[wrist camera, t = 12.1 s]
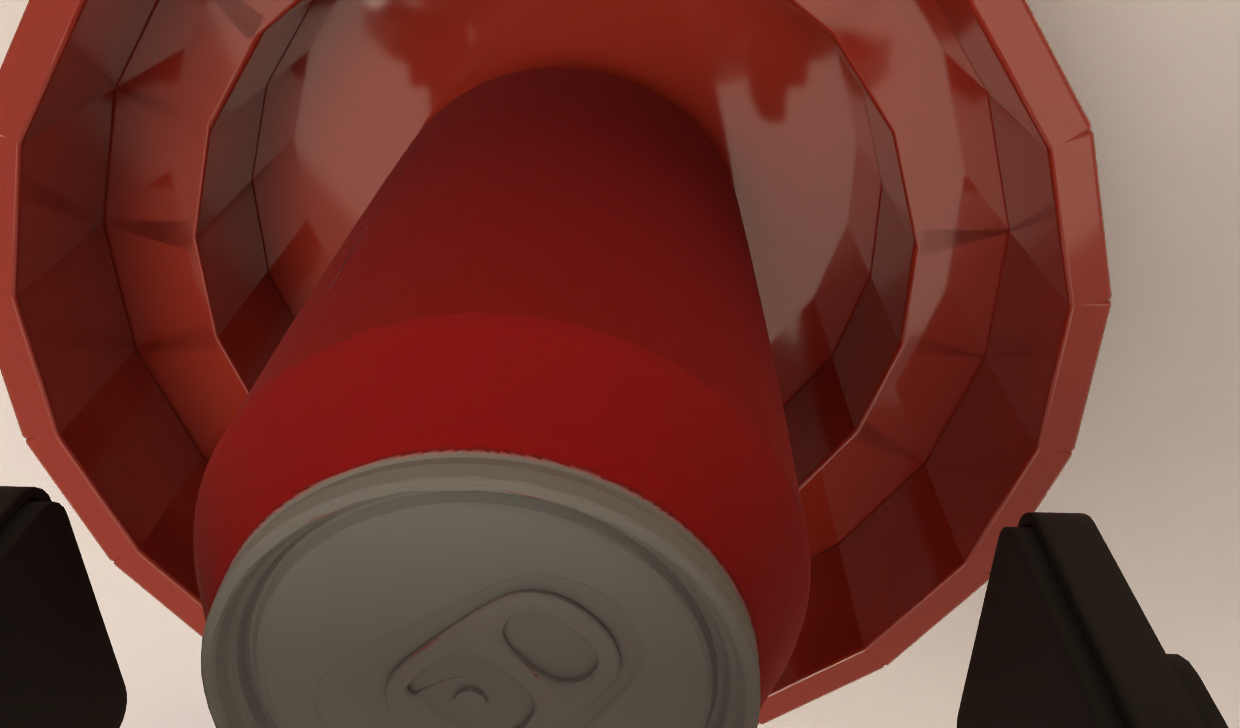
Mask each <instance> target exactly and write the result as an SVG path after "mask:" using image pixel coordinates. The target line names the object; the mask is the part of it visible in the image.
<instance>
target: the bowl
mask: <svg viewBox="0 0 1240 728" xmlns="http://www.w3.org/2000/svg"><path fill="white" fill-rule="evenodd" d="M539 68H577V69H586V70H591V71H597V72H602V73H605V74H609V75H613V76H616V77H619V78H622V79H625V80H627V81H630V82H633V83H635V84H637V85H639V86H641V87H643V88H645V89H647V90H649V91H651V92H653V93H654V94H656V95H658V96H660V97H661V98H663V99H664V100H666V101H667V102H668V103H670V104H671V105H673V106H674V107H675V108H677V109H678V110H679V111H680V112H681V113H683V114H684V115H685V116H686V117H687V118H688V119H689V120H690V121H691V122H692V123H693V124H694V125H695V126H696V127H697V128H698V129H699V130H700V131H701V132H702V133H703V135H704V136H705V137H706V138H707V140H708V141H709V142H710V143H711V145H712V146H713V148H714V149H715V151H716V152H717V154H718V155H719V157H720V159H721V161H722V163H723V164H724V166H725V168H726V170H727V172H728V175H729V177H730V179H731V182H732V184H733V187H734V190H735V193H736V196H737V200H738V204H739V208H740V212H741V216H742V220H743V225H744V229H745V233H746V237H747V241H748V245H749V250H750V254H751V259H752V263H753V268H754V272H755V277H756V281H757V286H758V290H759V294H760V299H761V303H762V308H763V312H764V317H765V321H766V326H767V331H768V336H769V340H770V345H771V350H772V355H773V360H774V365H775V370H776V375H777V380H778V384H779V389H780V394H781V399H782V404H783V409H784V414H785V419H786V424H787V429H788V434H789V439H790V445H791V450H792V455H793V461H794V466H795V471H796V476H797V482H798V487H799V492H800V498H801V503H802V508H803V514H804V519H805V524H806V530H807V535H808V541H809V550H810V559H811V583H810V591H809V600H808V605H807V610H806V614H805V618H804V622H803V625H802V628H801V631H800V634H799V637H798V640H797V643H796V646H795V649H794V651H793V653H792V655H791V657H790V659H789V662H788V664H787V666H786V668H785V670H784V671H783V673H782V674H781V676H780V678H779V679H778V681H777V683H776V684H775V686H774V688H773V689H772V691H771V693H770V694H769V696H768V698H767V699H766V701H765V703H764V704H763V706H762V708H761V709H760V714H759V720H758V725H759V723H760V724H764V723H766V722H769V721H771V720H773V719H775V718H777V717H779V716H781V715H783V714H786V713H788V712H790V711H792V710H794V709H796V708H798V707H801V706H803V705H805V704H807V703H809V702H811V701H813V700H815V699H818V698H820V697H822V696H824V695H826V694H828V693H830V692H832V691H835V690H837V689H839V688H841V687H843V686H845V685H847V684H849V683H852V682H854V681H856V680H858V679H860V678H862V677H864V676H867V675H869V674H871V673H873V672H875V671H877V670H879V669H881V668H883V667H884V665H888V664H890V663H891V662H892V661H893V660H894V659H895V658H897V657H898V656H899V655H900V654H901V653H903V652H904V651H905V650H906V649H907V648H909V647H910V646H911V645H912V644H913V643H914V642H916V641H917V640H918V639H919V638H920V637H922V636H923V635H924V634H925V633H926V632H928V631H929V630H930V629H931V628H932V627H933V626H935V625H936V624H937V623H938V622H939V621H941V620H942V619H943V618H944V617H945V616H947V615H948V614H949V613H950V612H951V611H952V610H954V609H955V608H956V607H957V606H958V605H960V604H961V603H962V602H963V601H964V600H966V599H967V598H968V597H969V596H970V595H971V594H973V593H974V592H975V591H976V590H977V589H979V588H980V587H981V586H982V585H983V584H985V583H986V582H987V581H988V580H989V577H990V572H991V568H992V564H993V559H994V555H995V551H996V546H997V542H998V538H999V535H1000V532H1001V530H1002V529H1003V528H1004V527H1017V526H1018V523H1019V520H1020V518H1021V517H1022V516H1023V514H1024V513H1027V512H1035V511H1036V509H1037V508H1038V506H1039V505H1040V503H1041V502H1042V500H1043V499H1044V497H1045V496H1046V494H1047V492H1048V491H1049V489H1050V488H1051V486H1052V485H1053V483H1054V482H1055V480H1056V479H1057V477H1058V476H1059V474H1060V472H1061V471H1062V469H1063V468H1064V466H1065V465H1066V463H1067V462H1068V460H1069V459H1070V457H1071V455H1072V451H1073V450H1074V449H1075V445H1076V441H1077V437H1078V433H1079V429H1080V425H1081V421H1082V417H1083V413H1084V409H1085V405H1086V401H1087V397H1088V393H1089V389H1090V385H1091V381H1092V377H1093V373H1094V369H1095V366H1096V362H1097V358H1098V354H1099V350H1100V346H1101V342H1102V338H1103V334H1104V330H1105V326H1106V322H1107V318H1108V314H1109V310H1110V306H1111V302H1110V299H1111V285H1110V276H1109V267H1108V258H1107V249H1106V240H1105V231H1104V222H1103V213H1102V205H1101V196H1100V187H1099V178H1098V169H1097V160H1096V151H1095V142H1094V133H1093V132H1092V130H1091V123H1090V121H1089V119H1088V118H1087V116H1086V114H1085V112H1084V110H1083V108H1082V106H1081V104H1080V102H1079V100H1078V98H1077V97H1076V95H1075V93H1074V91H1073V89H1072V87H1071V85H1070V83H1069V81H1068V79H1067V77H1066V75H1065V74H1064V72H1063V70H1062V68H1061V66H1060V64H1059V62H1058V60H1057V58H1056V56H1055V54H1054V53H1053V51H1052V49H1051V47H1050V45H1049V43H1048V41H1047V39H1046V37H1045V35H1044V33H1043V31H1042V30H1041V28H1040V26H1039V24H1038V22H1037V20H1036V18H1035V16H1034V14H1033V12H1032V10H1031V9H1030V7H1029V5H1028V3H1027V1H1026V0H29V2H28V4H27V7H26V9H25V11H24V14H23V16H22V19H21V21H20V23H19V26H18V28H17V30H16V33H15V35H14V37H13V40H12V42H11V45H10V47H9V49H8V52H7V54H6V56H5V59H4V61H3V63H2V66H1V68H0V370H1V373H2V376H3V379H4V382H5V385H6V388H7V391H8V394H9V397H10V400H11V403H12V406H13V409H14V412H15V415H16V417H17V420H18V423H19V426H20V429H21V432H22V435H23V437H24V438H26V443H27V445H28V446H29V447H30V449H31V450H32V452H33V453H34V454H35V456H36V457H37V459H38V460H39V461H40V463H41V464H42V466H43V467H44V468H45V470H46V471H47V473H48V474H49V475H50V477H51V478H52V480H53V481H54V482H55V484H56V485H57V487H58V488H59V489H60V491H61V492H62V494H63V495H64V496H65V498H66V499H67V501H68V502H69V503H70V505H71V506H72V508H73V509H74V510H75V512H76V513H77V515H78V516H79V517H80V519H81V520H82V522H83V523H84V524H85V526H86V527H87V529H88V530H89V531H90V533H91V534H92V536H93V537H94V538H95V540H96V541H97V543H98V544H99V545H100V547H101V548H102V549H103V551H104V552H105V554H106V555H107V556H108V558H109V559H110V560H111V561H114V564H115V566H117V567H118V568H119V569H120V570H122V571H123V572H124V573H125V574H126V575H128V576H129V577H130V578H131V579H132V580H134V581H135V582H136V583H137V584H139V585H140V586H141V587H142V588H143V589H145V590H146V591H147V592H148V593H149V594H151V595H152V596H153V597H154V598H156V599H157V600H158V601H159V602H160V603H162V604H163V605H164V606H165V607H166V608H168V609H169V610H170V611H171V612H172V613H174V614H175V615H176V616H177V617H179V618H180V619H181V620H182V621H183V622H185V623H186V624H187V625H188V626H189V627H191V628H192V629H193V630H194V631H196V632H197V633H198V634H199V635H200V636H202V637H203V634H204V629H205V625H206V622H205V617H204V612H203V607H202V603H201V598H200V593H199V588H198V584H197V578H196V571H195V564H194V546H193V532H194V519H195V508H196V503H197V498H198V493H199V488H200V485H201V482H202V479H203V476H204V473H205V470H206V467H207V464H208V462H209V460H210V458H211V456H212V454H213V451H214V449H215V447H216V445H217V444H218V442H219V440H220V439H221V437H222V436H223V434H224V432H225V431H226V429H227V427H228V426H229V424H230V423H231V421H232V419H233V418H234V416H235V414H236V413H237V411H238V410H239V408H240V406H241V405H242V403H243V402H244V400H245V398H246V397H247V395H248V393H249V392H250V390H251V389H252V387H253V385H254V384H255V382H256V380H257V379H258V377H259V376H260V374H261V372H262V371H263V369H264V368H265V366H266V364H267V363H268V361H269V359H270V358H271V356H272V355H273V353H274V351H275V350H276V348H277V347H278V345H279V343H280V342H281V340H282V338H283V337H284V335H285V334H286V332H287V330H288V329H289V327H290V325H291V324H292V322H293V321H294V319H295V318H296V316H297V315H298V313H299V311H300V310H301V308H302V307H303V305H304V304H305V302H306V300H307V299H308V297H309V296H310V294H311V293H312V291H313V289H314V288H315V286H316V285H317V283H318V282H319V280H320V279H321V277H322V275H323V274H324V272H325V271H326V269H327V268H328V266H329V264H330V263H331V261H332V260H333V258H334V257H335V255H336V254H337V252H338V250H339V249H340V247H341V246H342V244H343V243H344V241H345V240H346V238H347V237H348V235H349V234H350V232H351V231H352V229H353V228H354V226H355V225H356V223H357V222H358V220H359V219H360V217H361V216H362V214H363V213H364V211H365V210H366V208H367V207H368V205H369V204H370V202H371V201H372V199H373V198H374V196H375V195H376V193H377V192H378V190H379V188H380V187H381V186H382V184H383V183H384V181H385V180H386V178H387V177H388V175H389V174H390V173H391V171H392V170H393V168H394V167H395V165H396V164H397V163H398V161H399V160H400V158H401V157H402V155H403V154H404V153H405V151H406V150H407V148H408V147H409V145H410V144H411V142H412V141H413V140H414V138H415V137H416V136H417V134H418V133H419V132H420V130H421V129H422V128H423V127H424V126H425V125H426V124H427V123H428V121H429V120H430V119H431V118H432V117H433V116H434V115H435V114H436V113H438V112H439V111H440V110H441V109H442V108H443V107H444V106H446V105H447V104H448V103H450V102H451V101H453V100H454V99H455V98H457V97H458V96H460V95H461V94H463V93H465V92H466V91H468V90H470V89H472V88H474V87H476V86H478V85H480V84H482V83H484V82H486V81H489V80H492V79H495V78H497V77H500V76H503V75H507V74H511V73H514V72H519V71H524V70H530V69H539Z"/></svg>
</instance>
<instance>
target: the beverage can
mask: <svg viewBox="0 0 1240 728" xmlns="http://www.w3.org/2000/svg"><path fill="white" fill-rule="evenodd" d="M193 546H194V564H195V571H196V578H197V584H198V588H199V593H200V598H201V603H202V607H203V612H204V617H205V622H206V625H205V629H204V634H203V638H202V650H201V675H202V680H203V686H204V692H205V696H206V700H207V704H208V707H209V710H210V713H211V716H212V718H213V721H214V723H215V726H216V728H757V725H758V720H759V714H760V709H761V708H762V706H763V704H764V703H765V701H766V699H767V698H768V696H769V694H770V693H771V691H772V689H773V688H774V686H775V684H776V683H777V681H778V679H779V678H780V676H781V674H782V673H783V671H784V670H785V668H786V666H787V664H788V662H789V659H790V657H791V655H792V653H793V651H794V649H795V646H796V643H797V640H798V637H799V634H800V631H801V628H802V625H803V622H804V618H805V614H806V610H807V605H808V600H809V591H810V583H811V559H810V550H809V541H808V535H807V530H806V524H805V519H804V514H803V508H802V503H801V498H800V492H799V487H798V482H797V476H796V471H795V466H794V461H793V455H792V450H791V445H790V439H789V434H788V429H787V424H786V419H785V414H784V409H783V404H782V399H781V394H780V389H779V384H778V380H777V375H776V370H775V365H774V360H773V355H772V350H771V345H770V340H769V336H768V331H767V326H766V321H765V317H764V312H763V308H762V303H761V299H760V294H759V290H758V286H757V281H756V277H755V272H754V268H753V263H752V259H751V254H750V250H749V245H748V241H747V237H746V233H745V229H744V225H743V220H742V216H741V212H740V208H739V204H738V200H737V196H736V193H735V190H734V187H733V184H732V182H731V179H730V177H729V175H728V172H727V170H726V168H725V166H724V164H723V163H722V161H721V159H720V157H719V155H718V154H717V152H716V151H715V149H714V148H713V146H712V145H711V143H710V142H709V141H708V140H707V138H706V137H705V136H704V135H703V133H702V132H701V131H700V130H699V129H698V128H697V127H696V126H695V125H694V124H693V123H692V122H691V121H690V120H689V119H688V118H687V117H686V116H685V115H684V114H683V113H681V112H680V111H679V110H678V109H677V108H675V107H674V106H673V105H671V104H670V103H668V102H667V101H666V100H664V99H663V98H661V97H660V96H658V95H656V94H654V93H653V92H651V91H649V90H647V89H645V88H643V87H641V86H639V85H637V84H635V83H633V82H630V81H627V80H625V79H622V78H619V77H616V76H613V75H609V74H605V73H602V72H597V71H591V70H586V69H577V68H539V69H530V70H524V71H519V72H514V73H511V74H507V75H503V76H500V77H497V78H495V79H492V80H489V81H486V82H484V83H482V84H480V85H478V86H476V87H474V88H472V89H470V90H468V91H466V92H465V93H463V94H461V95H460V96H458V97H457V98H455V99H454V100H453V101H451V102H450V103H448V104H447V105H446V106H444V107H443V108H442V109H441V110H440V111H439V112H438V113H436V114H435V115H434V116H433V117H432V118H431V119H430V120H429V121H428V123H427V124H426V125H425V126H424V127H423V128H422V129H421V130H420V132H419V133H418V134H417V136H416V137H415V138H414V140H413V141H412V142H411V144H410V145H409V147H408V148H407V150H406V151H405V153H404V154H403V155H402V157H401V158H400V160H399V161H398V163H397V164H396V165H395V167H394V168H393V170H392V171H391V173H390V174H389V175H388V177H387V178H386V180H385V181H384V183H383V184H382V186H381V187H380V188H379V190H378V192H377V193H376V195H375V196H374V198H373V199H372V201H371V202H370V204H369V205H368V207H367V208H366V210H365V211H364V213H363V214H362V216H361V217H360V219H359V220H358V222H357V223H356V225H355V226H354V228H353V229H352V231H351V232H350V234H349V235H348V237H347V238H346V240H345V241H344V243H343V244H342V246H341V247H340V249H339V250H338V252H337V254H336V255H335V257H334V258H333V260H332V261H331V263H330V264H329V266H328V268H327V269H326V271H325V272H324V274H323V275H322V277H321V279H320V280H319V282H318V283H317V285H316V286H315V288H314V289H313V291H312V293H311V294H310V296H309V297H308V299H307V300H306V302H305V304H304V305H303V307H302V308H301V310H300V311H299V313H298V315H297V316H296V318H295V319H294V321H293V322H292V324H291V325H290V327H289V329H288V330H287V332H286V334H285V335H284V337H283V338H282V340H281V342H280V343H279V345H278V347H277V348H276V350H275V351H274V353H273V355H272V356H271V358H270V359H269V361H268V363H267V364H266V366H265V368H264V369H263V371H262V372H261V374H260V376H259V377H258V379H257V380H256V382H255V384H254V385H253V387H252V389H251V390H250V392H249V393H248V395H247V397H246V398H245V400H244V402H243V403H242V405H241V406H240V408H239V410H238V411H237V413H236V414H235V416H234V418H233V419H232V421H231V423H230V424H229V426H228V427H227V429H226V431H225V432H224V434H223V436H222V437H221V439H220V440H219V442H218V444H217V445H216V447H215V449H214V451H213V454H212V456H211V458H210V460H209V462H208V464H207V467H206V470H205V473H204V476H203V479H202V482H201V485H200V488H199V493H198V498H197V503H196V508H195V519H194V532H193Z"/></svg>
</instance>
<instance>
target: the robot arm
mask: <svg viewBox="0 0 1240 728" xmlns="http://www.w3.org/2000/svg"><path fill="white" fill-rule="evenodd" d="M126 704H127V692H126V687H125V684H124V681H123V678H122V675H121V672H120V669H119V666H118V663H117V660H116V657H115V654H114V651H113V648H112V645H111V642H110V639H109V636H108V633H107V631H106V628H105V625H104V622H103V619H102V616H101V613H100V610H99V607H98V604H97V601H96V598H95V595H94V592H93V589H92V586H91V583H90V580H89V577H88V574H87V571H86V568H85V565H84V562H83V559H82V557H81V554H80V551H79V548H78V545H77V542H76V539H75V536H74V533H73V530H72V527H71V524H70V521H69V518H68V515H67V513H66V511H65V509H64V507H63V506H62V505H61V504H60V503H56V502H52V501H51V499H50V497H49V495H48V494H47V493H46V492H45V491H44V490H43V489H40V488H36V487H12V486H0V728H120V725H121V723H122V721H123V718H124V715H125V711H126ZM957 728H1228V726H1227V724H1226V722H1225V721H1224V719H1223V717H1222V715H1221V714H1220V712H1219V710H1218V708H1217V707H1216V705H1215V703H1214V701H1213V699H1212V698H1211V696H1210V694H1209V692H1208V691H1207V689H1206V687H1205V685H1204V684H1203V682H1202V680H1201V678H1200V677H1199V675H1198V674H1197V672H1196V671H1195V669H1194V668H1193V667H1192V665H1191V664H1190V663H1189V661H1187V660H1186V659H1184V658H1183V657H1181V656H1180V655H1178V654H1166V653H1165V651H1164V650H1163V648H1162V646H1161V644H1160V642H1159V640H1158V638H1157V637H1156V635H1155V633H1154V631H1153V629H1152V627H1151V626H1150V624H1149V622H1148V620H1147V618H1146V616H1145V615H1144V613H1143V611H1142V609H1141V607H1140V605H1139V604H1138V602H1137V600H1136V598H1135V596H1134V594H1133V593H1132V591H1131V589H1130V587H1129V585H1128V583H1127V581H1126V580H1125V578H1124V576H1123V574H1122V572H1121V570H1120V569H1119V567H1118V565H1117V563H1116V561H1115V559H1114V558H1113V556H1112V554H1111V552H1110V550H1109V548H1108V547H1107V545H1106V543H1105V541H1104V539H1103V537H1102V536H1101V534H1100V532H1099V530H1098V528H1097V526H1096V525H1095V523H1094V522H1093V520H1092V519H1091V517H1090V516H1088V515H1086V514H1083V513H1043V512H1027V513H1024V514H1023V516H1022V517H1021V518H1020V520H1019V523H1018V526H1017V527H1004V528H1003V529H1002V530H1001V532H1000V535H999V538H998V542H997V546H996V551H995V555H994V559H993V564H992V568H991V572H990V577H989V581H988V586H987V590H986V594H985V599H984V603H983V607H982V612H981V616H980V620H979V625H978V629H977V634H976V638H975V642H974V647H973V651H972V655H971V660H970V664H969V669H968V673H967V677H966V682H965V686H964V690H963V695H962V699H961V703H960V708H959V712H958V718H957Z"/></svg>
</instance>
